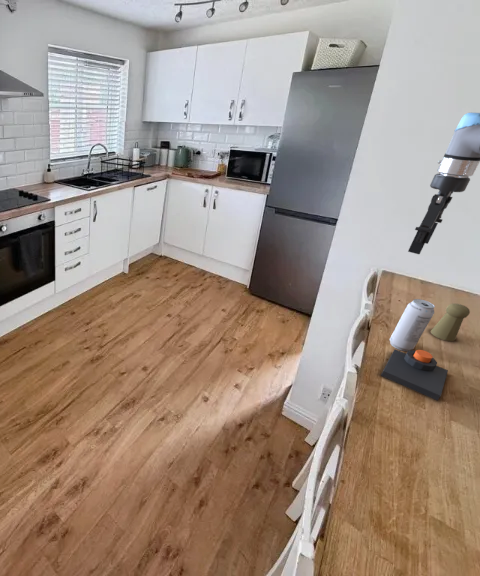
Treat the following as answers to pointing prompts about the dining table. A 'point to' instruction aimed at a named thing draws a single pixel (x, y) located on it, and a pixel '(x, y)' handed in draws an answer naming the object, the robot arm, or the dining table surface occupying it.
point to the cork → (450, 322)
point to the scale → (415, 373)
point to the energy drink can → (412, 324)
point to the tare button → (423, 356)
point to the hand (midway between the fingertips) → (418, 247)
